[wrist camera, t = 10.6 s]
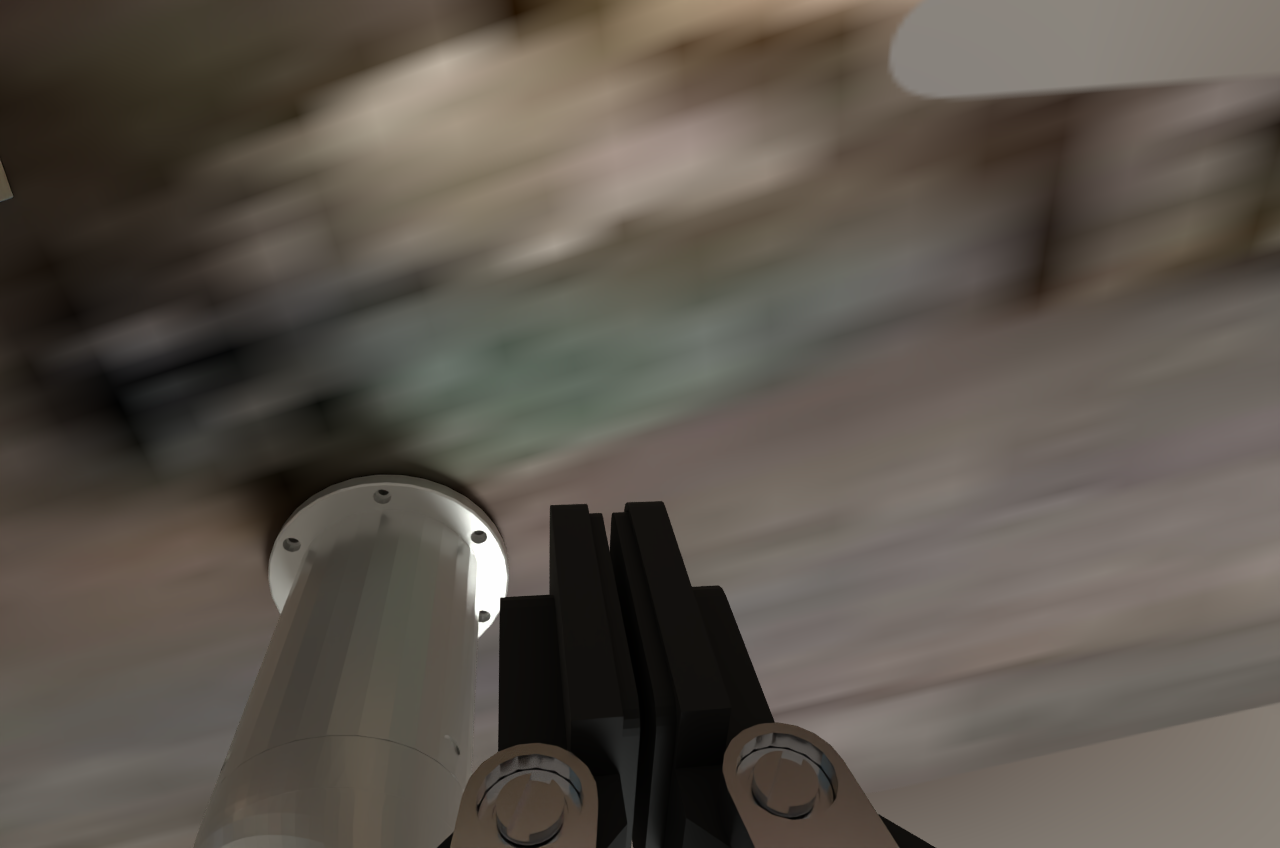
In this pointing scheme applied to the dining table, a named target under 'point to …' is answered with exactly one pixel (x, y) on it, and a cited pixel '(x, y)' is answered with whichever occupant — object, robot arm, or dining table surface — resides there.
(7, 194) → the stack of blocks
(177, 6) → the dining table surface
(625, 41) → the dining table surface
